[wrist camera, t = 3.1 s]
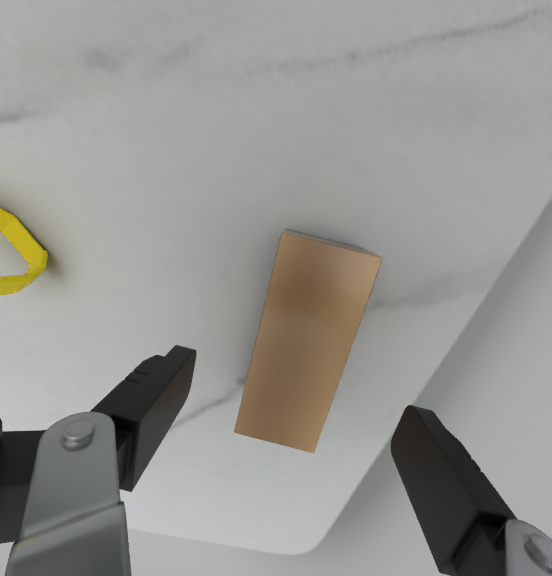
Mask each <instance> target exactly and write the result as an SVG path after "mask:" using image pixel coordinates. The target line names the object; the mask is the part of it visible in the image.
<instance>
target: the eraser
mask: <svg viewBox="0 0 552 576" xmlns="http://www.w3.org/2000/svg"><path fill="white" fill-rule="evenodd" d="M381 262H382V257H380V256H378V255H376V254H374V253H371V252H369V251H367V250H365V249H363V248H361V247H357V246H353V245H349V244H345V243H341V242H337V241H333V240H329V239H325V238H321V237H317V236H313V235H309V234H305V233H301V232H297V231H293V230H289V229H285V230H284V231H283V232H282V234H281V238H280V242H279V246H278V250H277V254H276V258H275V263H274V267H273V271H272V275H271V279H270V284H269V288H268V292H267V296H266V300H265V304H264V309H263V313H262V317H261V321H260V325H259V329H258V334H257V338H256V342H255V346H254V350H253V355H252V359H251V363H250V367H249V371H248V375H247V380H246V384H245V388H244V392H243V396H242V401H241V405H240V409H239V413H238V417H237V421H236V426H235V430H234V432H235V433H238V434H242V435H246V436H249V437H253V438H257V439H261V440H265V441H269V442H273V443H277V444H280V445H284V446H288V447H292V448H296V449H300V450H304V451H308V452H311V453H314V451H315V448H316V446H317V443H318V440H319V437H320V434H321V431H322V429H323V426H324V423H325V420H326V417H327V414H328V412H329V409H330V406H331V403H332V400H333V397H334V395H335V392H336V389H337V386H338V383H339V380H340V378H341V375H342V372H343V369H344V366H345V363H346V361H347V358H348V355H349V352H350V349H351V346H352V344H353V341H354V338H355V335H356V332H357V330H358V327H359V324H360V321H361V318H362V315H363V313H364V310H365V307H366V304H367V301H368V298H369V296H370V293H371V290H372V287H373V284H374V281H375V279H376V276H377V273H378V270H379V267H380V264H381Z"/></svg>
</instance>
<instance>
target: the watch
mask: <svg viewBox="0 0 552 576" xmlns="http://www.w3.org/2000/svg"><path fill="white" fill-rule="evenodd" d="M0 232H2V233H3V234H4V235H5V236H6V238H7V239H8V240H9V241H10V242H11V244H12V245H13V246H14V247H15V248H16V249H17V251H18V252H19V253H20V254H21V255H22V256H23V258H24V259H25V260H26V261H27V262H28V263H29V268H28V272H27V273H26V274H24V275H18V276H5V277H0V295H5V294H12V293H15V292H19V291H20V290H22V289H23V288H25V287H26V286H27V285H29V284H30V283H32V282H33V281H34V280H35V279H36V278H37V277H38V276H39V275H40V274H41V273H42V272H43V271H44V269H45V268H46V263H47V258H48V254H47V251H46V250H45V251H44V250H43V248H42V247H41V246H40V245H39V244H38V243H37V241H36V240H35V239H34V238H33V237H32V236H31V234H30V233H29V232H28V231H27V230H26V229H25V227H24V226H23V225H22V224H21V223H20V221H19V220H18V219H17V218H16V216H14V215H12V214H10V213H8V212H6V211H5V210H3V209H1V208H0Z"/></svg>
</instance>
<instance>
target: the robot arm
mask: <svg viewBox="0 0 552 576" xmlns="http://www.w3.org/2000/svg"><path fill="white" fill-rule="evenodd" d="M195 360H196V350H194V349H190V348H186V347H182V346H178V345H176V346H174V347H173V348H172V349H171V350H170V352H169V353H168V354H167V355H166V356H165V357H164V356H160V355H155V356H153V357H151V358H149V359H147V360H144V361H143V362H142V363H141V364H140V365H139V366H137V367H136V368H135V369H134V371H133V372H131V373H130V374H129V375H128V376H127V377H126V378H125V380H123V381H122V382H121V383H119V384H118V385H117V386H116V387H115V388H114V389H113V390H112V391H111V392H110V393H109V394H108V395H107V396H106V397H105V398H104V399H103V400H101V401H100V402H99V403H98V404H97V405H96V406H95V407H94V408H93V409H92V410H91V411H90V412H82V413H77V414H74V415H71V416H68V417H66V418H63V419H61V420H60V421H58V422H56V423H55V424H53V425H52V426H51V427H50V428H48V429H47V430H41V431H8V432H2V421H1V419H0V543H7V542H14V541H15V542H14V544H13V546H12V548H11V552H10V555H9V559H8V563H7V567H6V572H5V576H131V566H130V555H129V543H128V532H127V521H126V512H125V505H124V502H123V501H122V502H121V500H120V491H119V489H122V490H126V491H130V492H132V490H133V489H134V487H135V485H136V484H137V482H138V480H139V479H140V477H141V475H142V474H143V472H144V470H145V469H146V467H147V465H148V464H149V462H150V460H151V459H152V457H153V455H154V454H155V452H156V450H157V449H158V447H159V445H160V443H161V442H162V440H163V438H164V437H165V435H166V433H167V432H168V430H169V428H170V427H171V425H172V423H173V422H174V420H175V418H176V417H177V415H178V413H179V412H180V410H181V408H182V407H183V405H184V403H185V401H186V399H187V397H188V394H189V391H190V388H191V383H192V377H193V371H194V366H195ZM391 453H392V457H393V459H394V462H395V464H396V467H397V469H398V472H399V474H400V476H401V479H402V482H403V484H404V487H405V489H406V491H407V494H408V496H409V499H410V501H411V504H412V506H413V509H414V511H415V513H416V516H417V519H418V521H419V523H420V526H421V528H422V531H423V533H424V536H425V538H426V541H427V543H428V546H429V548H430V550H431V553H432V555H433V558H434V560H435V563H436V565H437V568H438V570H439V572H440V573H442V574H446V575H450V576H552V539H551V538H550V537H549V536H547V535H546V534H545V533H543V532H542V531H541V530H539V529H537V528H536V527H534V526H532V525H531V524H528V523H526V522H524V521H522V520H518V519H517V518H516V517H515V515H514V514H513V513H512V511H511V510H510V508H509V507H508V506H507V504H506V503H505V502H504V500H503V499H502V498H501V496H500V495H499V494H498V492H497V491H496V489H495V488H494V487H493V485H492V484H491V483H490V481H489V480H488V479H487V477H486V476H485V475H484V473H483V472H481V471H480V468H479V466H478V465H477V464H476V462H475V461H474V460H472V459H471V456H470V454H469V453H468V452H467V450H466V449H465V447H464V446H463V445H462V443H461V442H460V441H459V440H458V439H457V438H455V437H454V436H453V435H452V434H451V433H450V432H449V431H448V430H447V429H446V428H445V427H444V426H443V425H442V423H441V421H440V420H439V419H438V418H437V416H436V414H435V413H434V412H433V411H431V410H428V409H424V408H420V407H416V406H412V405H409V406H407V407H406V408H405V410H404V412H403V415H402V417H401V419H400V421H399V423H398V426H397V428H396V430H395V432H394V435H393V437H392V440H391Z"/></svg>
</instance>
